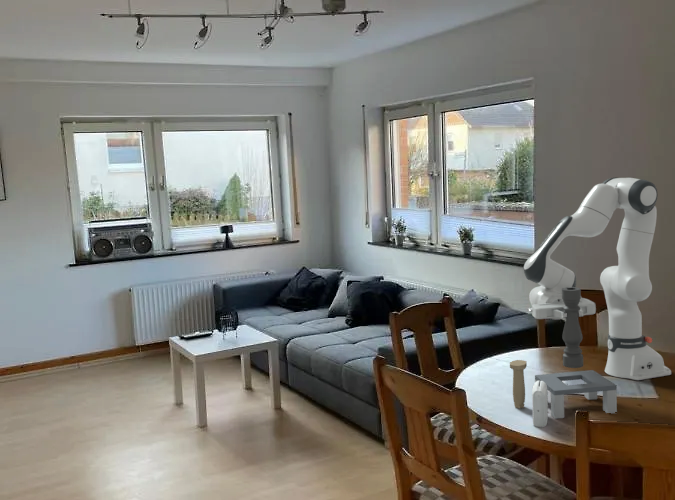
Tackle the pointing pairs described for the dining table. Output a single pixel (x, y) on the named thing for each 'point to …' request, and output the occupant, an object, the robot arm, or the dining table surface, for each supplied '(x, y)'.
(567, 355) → the candle holder
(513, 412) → the dining table surface
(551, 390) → the hole stand
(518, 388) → the handle
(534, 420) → the photo printer
